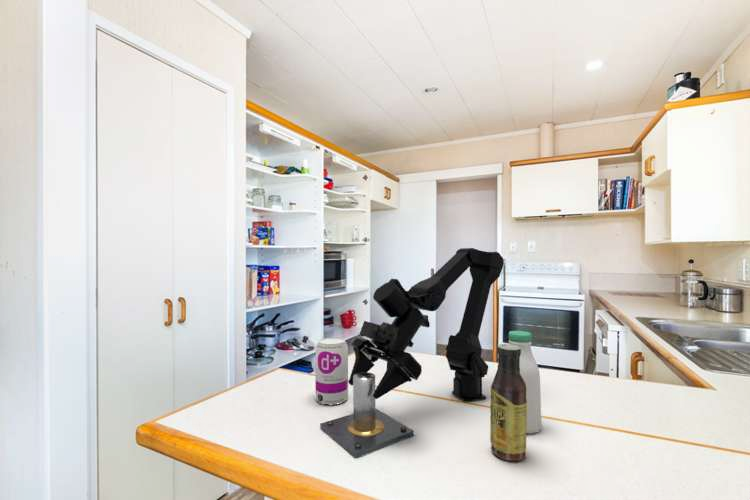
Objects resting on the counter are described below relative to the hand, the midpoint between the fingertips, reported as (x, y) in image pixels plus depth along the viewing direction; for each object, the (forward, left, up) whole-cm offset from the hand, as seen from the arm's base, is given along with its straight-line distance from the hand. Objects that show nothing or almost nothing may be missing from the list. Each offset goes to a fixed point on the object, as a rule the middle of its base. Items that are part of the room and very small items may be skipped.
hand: (361, 390), depth 74 cm
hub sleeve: (-1, 0, -8) cm, 8 cm away
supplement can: (+2, -19, -9) cm, 21 cm away
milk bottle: (-33, +9, -9) cm, 35 cm away
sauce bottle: (-23, +17, -9) cm, 30 cm away
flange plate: (-1, 0, -9) cm, 9 cm away
